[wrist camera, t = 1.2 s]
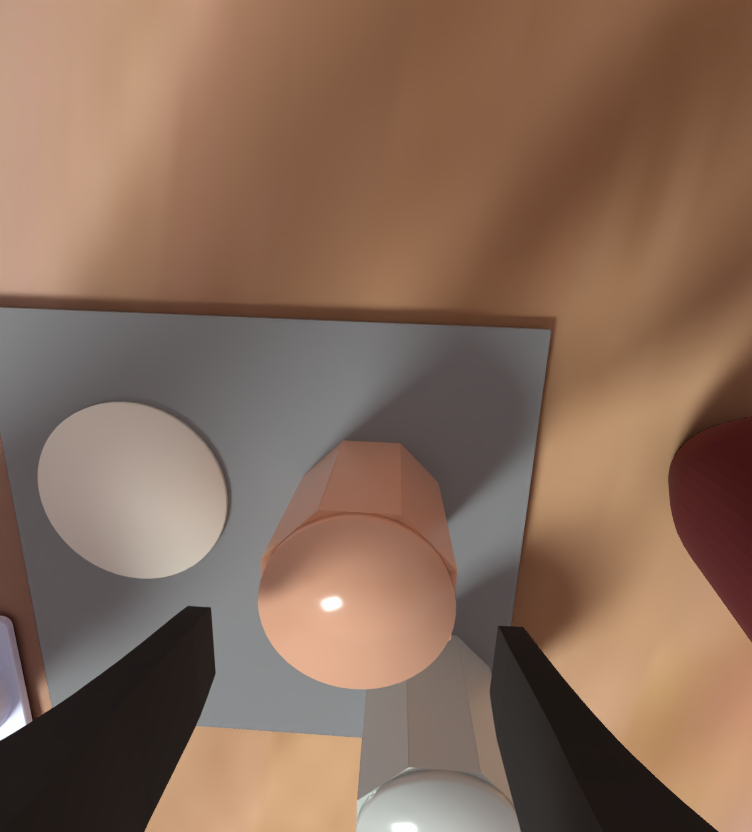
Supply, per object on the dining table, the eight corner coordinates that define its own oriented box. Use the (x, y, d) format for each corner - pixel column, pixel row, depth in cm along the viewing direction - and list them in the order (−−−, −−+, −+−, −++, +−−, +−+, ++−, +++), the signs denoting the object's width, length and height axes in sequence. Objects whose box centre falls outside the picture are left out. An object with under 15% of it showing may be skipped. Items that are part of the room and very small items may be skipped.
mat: (61, 705, 24) (53, 715, 23) (-11, 306, 18) (-24, 306, 18) (492, 735, 23) (494, 747, 22) (546, 328, 18) (551, 330, 17)
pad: (57, 569, 21) (53, 573, 20) (28, 396, 19) (22, 398, 18) (232, 579, 20) (230, 583, 20) (223, 406, 18) (220, 407, 18)
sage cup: (365, 726, 22) (353, 896, 16) (369, 630, 21) (357, 776, 15) (481, 734, 22) (514, 910, 16) (493, 637, 21) (535, 789, 14)
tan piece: (303, 560, 20) (260, 682, 14) (302, 438, 19) (254, 513, 12) (431, 567, 20) (447, 695, 14) (441, 445, 18) (464, 525, 12)
